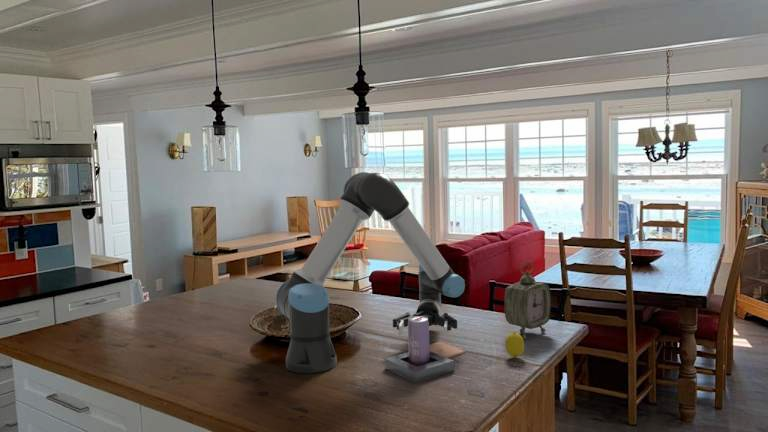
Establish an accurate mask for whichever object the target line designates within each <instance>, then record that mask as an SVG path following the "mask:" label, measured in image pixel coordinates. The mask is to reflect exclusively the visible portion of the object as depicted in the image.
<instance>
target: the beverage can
mask: <svg viewBox="0 0 768 432" xmlns="http://www.w3.org/2000/svg"><path fill="white" fill-rule="evenodd" d="M408 320H409V321H408V326H407V336H408V337H407V339H408V340H407V341H408V342H407V343H408V346H407V347H408V352H409V363H410V364H412V365H414V366H417V367H418V366H421V365H424V364H428V363H430V355H429V344H430V326H429V322H428V318H427V317H424V316H414V317H410V318H409V319H408Z"/></svg>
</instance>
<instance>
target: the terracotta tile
mask: <svg viewBox="0 0 768 432" xmlns="http://www.w3.org/2000/svg"><path fill="white" fill-rule="evenodd" d="M429 351H430V352H433V353H436V354H438V355H441V356H443V357H446V358H449V359H451V358H452V357H456V356H459V355H463V354H465V353H466V351H465V350H464V349H460V348H457V347H456V346H452V345H450V344H446V343H444V342H441V341H437V342H433V343H429Z"/></svg>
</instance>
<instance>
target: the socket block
mask: <svg viewBox="0 0 768 432" xmlns="http://www.w3.org/2000/svg"><path fill="white" fill-rule="evenodd" d="M429 355H430V363H428V364H424V365H421V366H418V367H417V366H414V365H412V364H410V363H409V351H408V352H404V353H400V354H398V355H392V356H389V357H386V358H384V359H385V360H384V363H385V364H384V365H385V366H384V367H385V370H388V371H389V372H391V373H393V374H395V375H398V376H400V377H402V378H404V379H407V380H408V381H410V382H413V383H415V384H418V383H421V382H423V381H426V380H429V379H433V378H436V377H440V376H443V375H445V374H446V375H447V374H448V373H453V372H454V371H455V361H454V360H453V359H451V358H446V357H443V356H441V355H438V354H436V353H433V352H430V351H429Z"/></svg>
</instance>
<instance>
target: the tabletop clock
mask: <svg viewBox="0 0 768 432" xmlns="http://www.w3.org/2000/svg"><path fill="white" fill-rule="evenodd" d="M526 265H531V266H532V268H531V270H528V269H526V270H525V272H524V271H523V268H524V267H525V266H526ZM534 269H535V266H534V264H533V262H530V261H526V262H524V263H523V264H522V265H521V266H520V273H521V274H522V276H521V278H520V279H519V281H518V282H515V283H512V284H510V285H508V286H507V287H506V288H505V291H504V317H505V320H506V322H508V324H509V325H512V326H517V327H520V329H519V333H520V334H521V337H522V338H523V340H526V339H527V335H526V333H525V332H526V329H529V330H530V329H531V330H533V329H536V328H540V332H541V333H542V334H543V333H545V332H546V328H545V327H543V326H544V325H546V324H547V323H548V322H549V321H550V316H551V303H552V302H551V300H552V299H551V290H550V289H551V288H550V286H549V284H547V283H543V282H542V283H541V282H536V279H535V277H533V276H532V275H530V274H532V273H533V272H534Z"/></svg>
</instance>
